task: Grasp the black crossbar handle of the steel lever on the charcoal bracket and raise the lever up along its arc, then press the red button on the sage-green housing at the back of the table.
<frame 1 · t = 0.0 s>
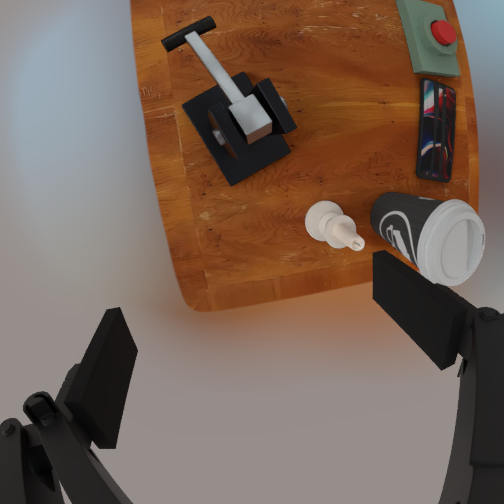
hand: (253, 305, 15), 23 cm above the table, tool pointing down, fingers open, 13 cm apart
bracket: (236, 128, 34), on the table
lever: (218, 73, 22), point 10 cm above the table, hinge at -20.0°
coffee cup: (389, 214, 40), on the table
candle: (323, 220, 39), on the table
button box: (425, 38, 32), on the table
smartphone: (435, 130, 37), on the table
button: (443, 32, 28), point 4 cm above the table, slide at 0.1 cm
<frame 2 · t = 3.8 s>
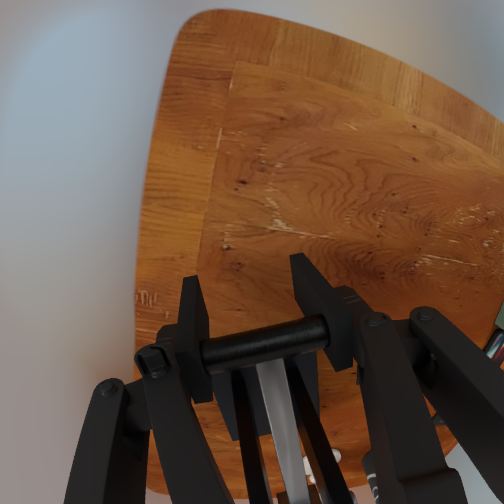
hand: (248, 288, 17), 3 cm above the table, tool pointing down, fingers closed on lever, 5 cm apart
bracket: (265, 383, 23), on the table
lever: (289, 455, 12), point 10 cm above the table, hinge at -20.0°, touching gripper
coffee cup: (383, 451, 31), on the table
candle: (317, 459, 29), on the table
smartphone: (474, 379, 30), on the table
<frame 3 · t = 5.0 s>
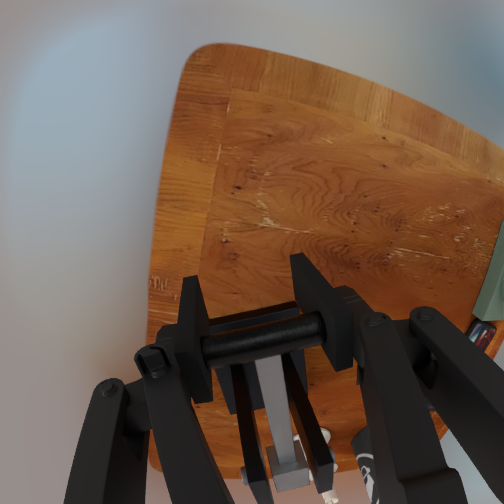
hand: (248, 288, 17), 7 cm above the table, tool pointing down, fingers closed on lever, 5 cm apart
bracket: (259, 360, 28), on the table
lever: (279, 424, 15), point 12 cm above the table, hinge at 0.6°, touching gripper
coffee cup: (372, 434, 35), on the table
candle: (309, 438, 33), on the table
button box: (503, 270, 30), on the table
smartphone: (456, 367, 34), on the table
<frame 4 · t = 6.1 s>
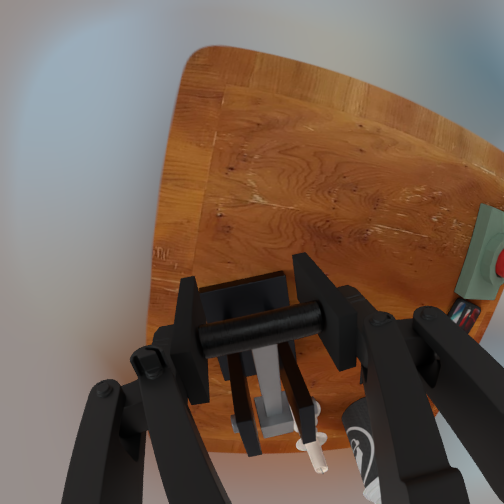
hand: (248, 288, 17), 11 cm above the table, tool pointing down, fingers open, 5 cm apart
bracket: (251, 327, 31), on the table
lever: (269, 387, 16), point 14 cm above the table, hinge at 20.2°
coffee cup: (361, 410, 39), on the table
candle: (300, 410, 37), on the table
button box: (484, 252, 33), on the table
smartphone: (442, 345, 37), on the table
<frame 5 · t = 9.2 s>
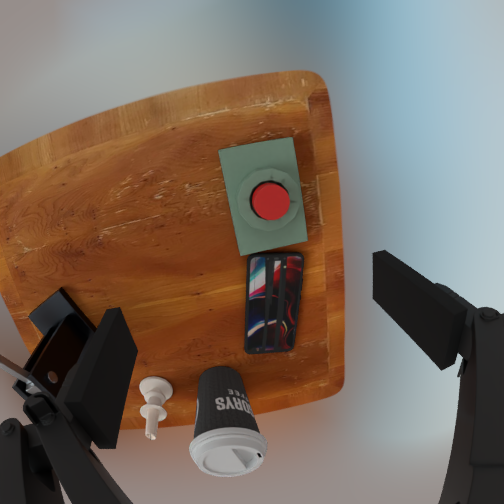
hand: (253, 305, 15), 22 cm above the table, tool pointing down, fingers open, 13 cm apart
bracket: (70, 329, 38), on the table
lever: (4, 363, 23), point 14 cm above the table, hinge at 20.2°
coffee cup: (220, 381, 44), on the table
candle: (156, 387, 43), on the table
button box: (262, 194, 36), on the table
smartphone: (272, 305, 41), on the table
button: (270, 201, 31), point 4 cm above the table, slide at 0.1 cm
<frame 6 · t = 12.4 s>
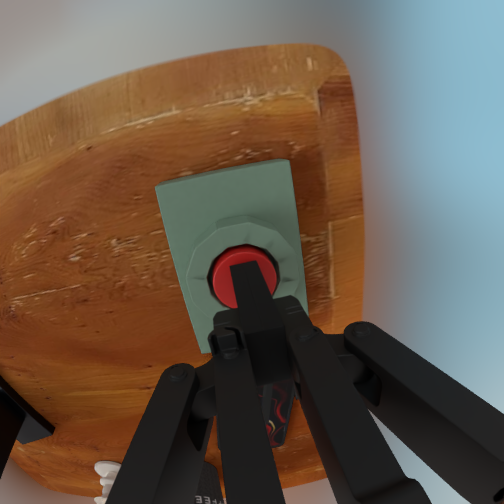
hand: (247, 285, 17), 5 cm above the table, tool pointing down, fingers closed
bracket: (6, 403, 24), on the table
coffee cup: (190, 470, 30), on the table
candle: (114, 469, 29), on the table
button box: (237, 255, 22), on the table
smartphone: (254, 401, 27), on the table
button: (243, 276, 18), point 4 cm above the table, slide at -0.8 cm, touching gripper
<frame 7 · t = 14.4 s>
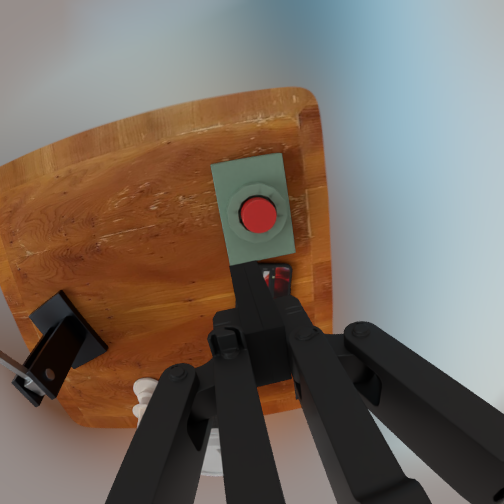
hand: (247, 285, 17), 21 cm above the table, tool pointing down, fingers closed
bracket: (68, 330, 39), on the table
lever: (5, 360, 25), point 14 cm above the table, hinge at 20.2°
coffee cup: (210, 384, 46), on the table
candle: (149, 388, 45), on the table
button box: (252, 207, 37), on the table
smartphone: (261, 313, 42), on the table
button: (258, 214, 33), point 4 cm above the table, slide at 0.1 cm
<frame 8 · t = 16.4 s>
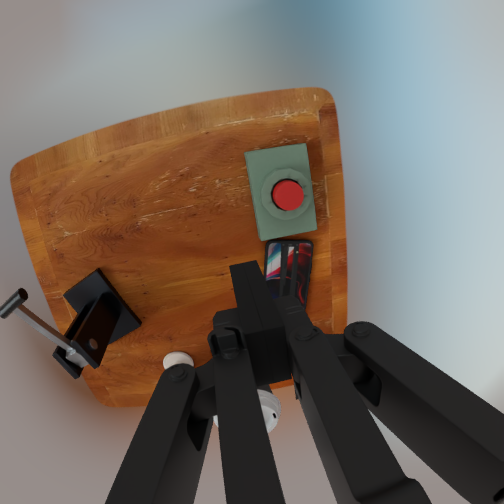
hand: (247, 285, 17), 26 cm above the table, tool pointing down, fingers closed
bracket: (102, 307, 44), on the table
lever: (48, 331, 30), point 14 cm above the table, hinge at 20.2°
coffee cup: (236, 356, 51), on the table
candle: (178, 362, 50), on the table
button box: (279, 190, 42), on the table
smartphone: (285, 286, 48), on the table
button: (288, 195, 38), point 4 cm above the table, slide at 0.1 cm
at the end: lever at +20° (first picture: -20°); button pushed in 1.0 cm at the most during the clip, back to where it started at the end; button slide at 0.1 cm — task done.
